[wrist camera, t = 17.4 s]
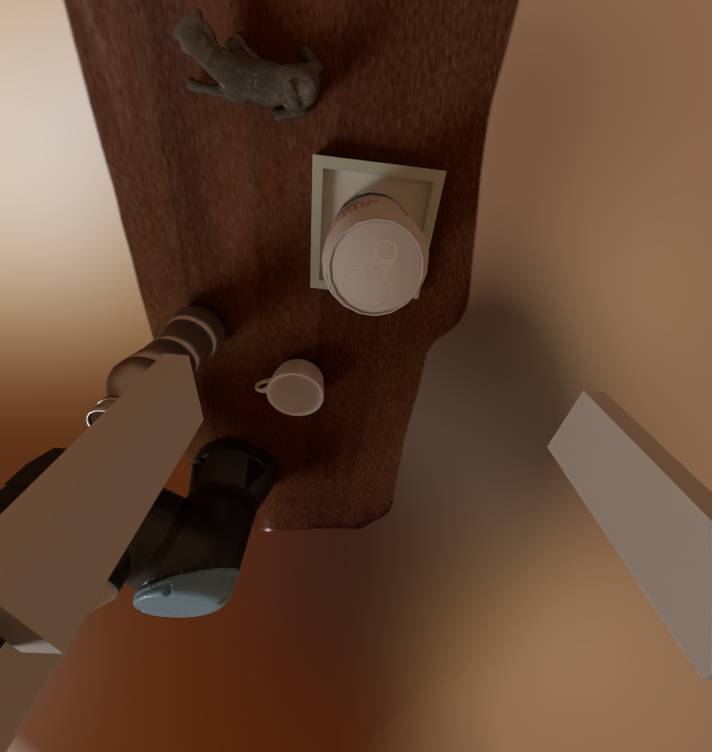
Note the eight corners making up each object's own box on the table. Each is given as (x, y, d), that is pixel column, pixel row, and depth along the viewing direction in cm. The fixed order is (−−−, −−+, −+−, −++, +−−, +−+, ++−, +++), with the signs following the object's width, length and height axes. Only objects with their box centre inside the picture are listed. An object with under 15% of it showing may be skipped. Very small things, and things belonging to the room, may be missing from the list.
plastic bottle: (206, 291, 40) (99, 383, 24) (240, 334, 44) (167, 439, 27) (169, 313, 42) (47, 412, 26) (205, 351, 45) (116, 461, 29)
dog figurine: (330, 54, 28) (322, 25, 22) (319, 134, 31) (310, 128, 25) (190, 8, 26) (139, -37, 20) (194, 96, 30) (151, 80, 23)
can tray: (415, 291, 40) (417, 298, 38) (312, 280, 39) (310, 287, 37) (441, 170, 33) (446, 171, 30) (315, 154, 32) (312, 154, 30)
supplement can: (384, 280, 38) (394, 338, 26) (322, 247, 36) (302, 293, 24) (421, 215, 34) (455, 247, 22) (354, 173, 32) (350, 183, 20)
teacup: (325, 351, 45) (321, 372, 41) (328, 393, 50) (325, 416, 45) (256, 351, 45) (245, 372, 41) (265, 393, 50) (256, 416, 45)
